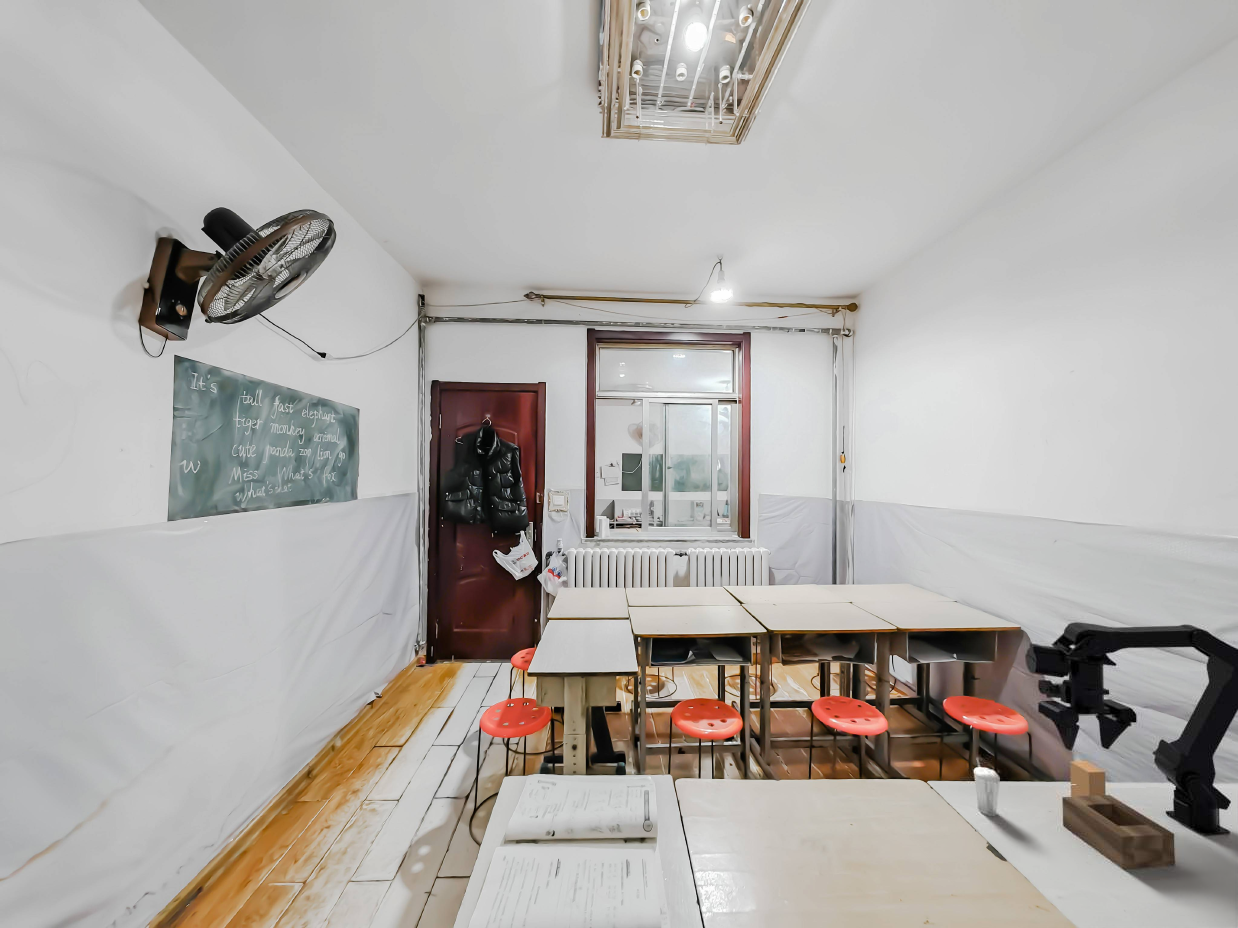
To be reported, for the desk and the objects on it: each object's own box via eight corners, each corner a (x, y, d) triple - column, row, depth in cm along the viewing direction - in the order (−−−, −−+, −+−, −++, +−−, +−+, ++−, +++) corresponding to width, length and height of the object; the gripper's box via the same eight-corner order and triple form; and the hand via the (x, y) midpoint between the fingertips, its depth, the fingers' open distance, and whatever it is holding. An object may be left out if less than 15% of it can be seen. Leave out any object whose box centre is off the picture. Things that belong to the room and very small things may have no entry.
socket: (1110, 822, 100) (1109, 794, 100) (1175, 865, 89) (1174, 833, 89) (1063, 825, 99) (1062, 796, 99) (1122, 868, 88) (1121, 836, 88)
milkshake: (988, 802, 106) (987, 758, 106) (1005, 819, 101) (1004, 772, 101) (967, 801, 106) (966, 756, 107) (983, 817, 101) (982, 771, 101)
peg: (1086, 795, 109) (1085, 760, 109) (1105, 807, 105) (1105, 771, 105) (1071, 796, 108) (1070, 761, 109) (1089, 808, 104) (1088, 772, 105)
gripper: (1085, 665, 116) (1085, 728, 116) (1016, 666, 114) (1016, 730, 114) (1138, 685, 105) (1139, 755, 104) (1062, 687, 103) (1063, 758, 103)
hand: (1086, 748), depth 107 cm, fingers open, 9 cm apart
